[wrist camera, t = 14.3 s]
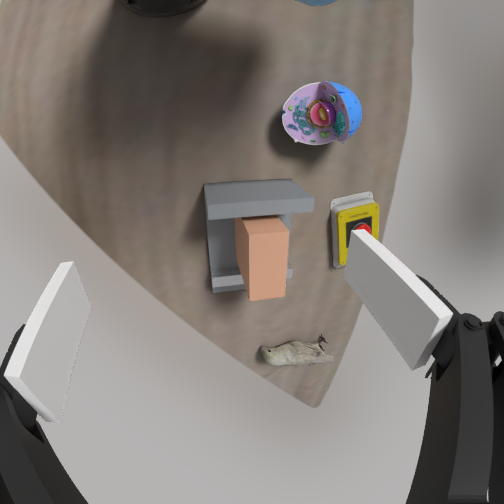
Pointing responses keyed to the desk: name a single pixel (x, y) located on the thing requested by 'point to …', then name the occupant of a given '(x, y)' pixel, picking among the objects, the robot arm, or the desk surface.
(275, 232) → the cabinet block
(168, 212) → the desk surface
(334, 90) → the cell model
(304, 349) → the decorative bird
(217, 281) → the strip
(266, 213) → the gray bracket stand
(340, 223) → the emergency button
